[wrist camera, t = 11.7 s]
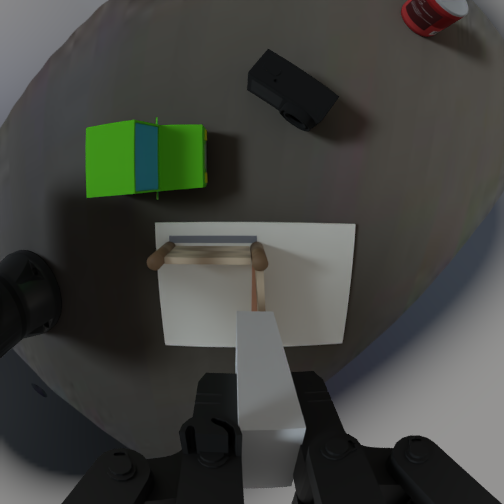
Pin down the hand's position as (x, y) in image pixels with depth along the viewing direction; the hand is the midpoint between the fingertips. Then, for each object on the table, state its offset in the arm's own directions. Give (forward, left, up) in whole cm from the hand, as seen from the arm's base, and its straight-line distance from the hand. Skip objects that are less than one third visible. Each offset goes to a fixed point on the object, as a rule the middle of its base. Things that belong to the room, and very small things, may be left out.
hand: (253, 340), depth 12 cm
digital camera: (+5, +18, -30) cm, 35 cm away
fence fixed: (-4, -2, -30) cm, 30 cm away
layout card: (+2, -8, -30) cm, 31 cm away
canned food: (+30, +39, -30) cm, 57 cm away
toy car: (-12, +10, -30) cm, 34 cm away
